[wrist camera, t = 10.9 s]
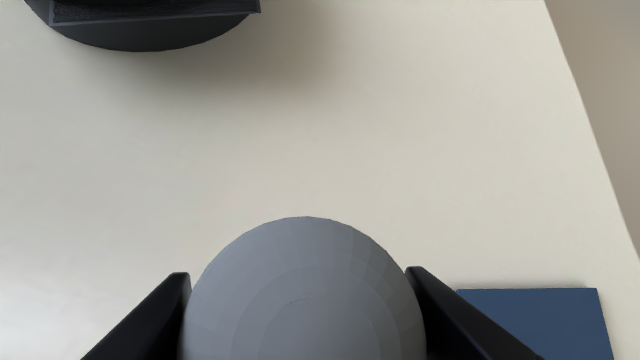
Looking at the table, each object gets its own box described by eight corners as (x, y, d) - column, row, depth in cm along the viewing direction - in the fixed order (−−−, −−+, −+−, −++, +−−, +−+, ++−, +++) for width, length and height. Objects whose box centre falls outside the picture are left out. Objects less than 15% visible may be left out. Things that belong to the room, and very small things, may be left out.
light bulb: (190, 335, 14) (35, 435, 5) (273, 222, 16) (282, 132, 7) (305, 418, 14) (385, 708, 4) (375, 293, 16) (533, 304, 6)
